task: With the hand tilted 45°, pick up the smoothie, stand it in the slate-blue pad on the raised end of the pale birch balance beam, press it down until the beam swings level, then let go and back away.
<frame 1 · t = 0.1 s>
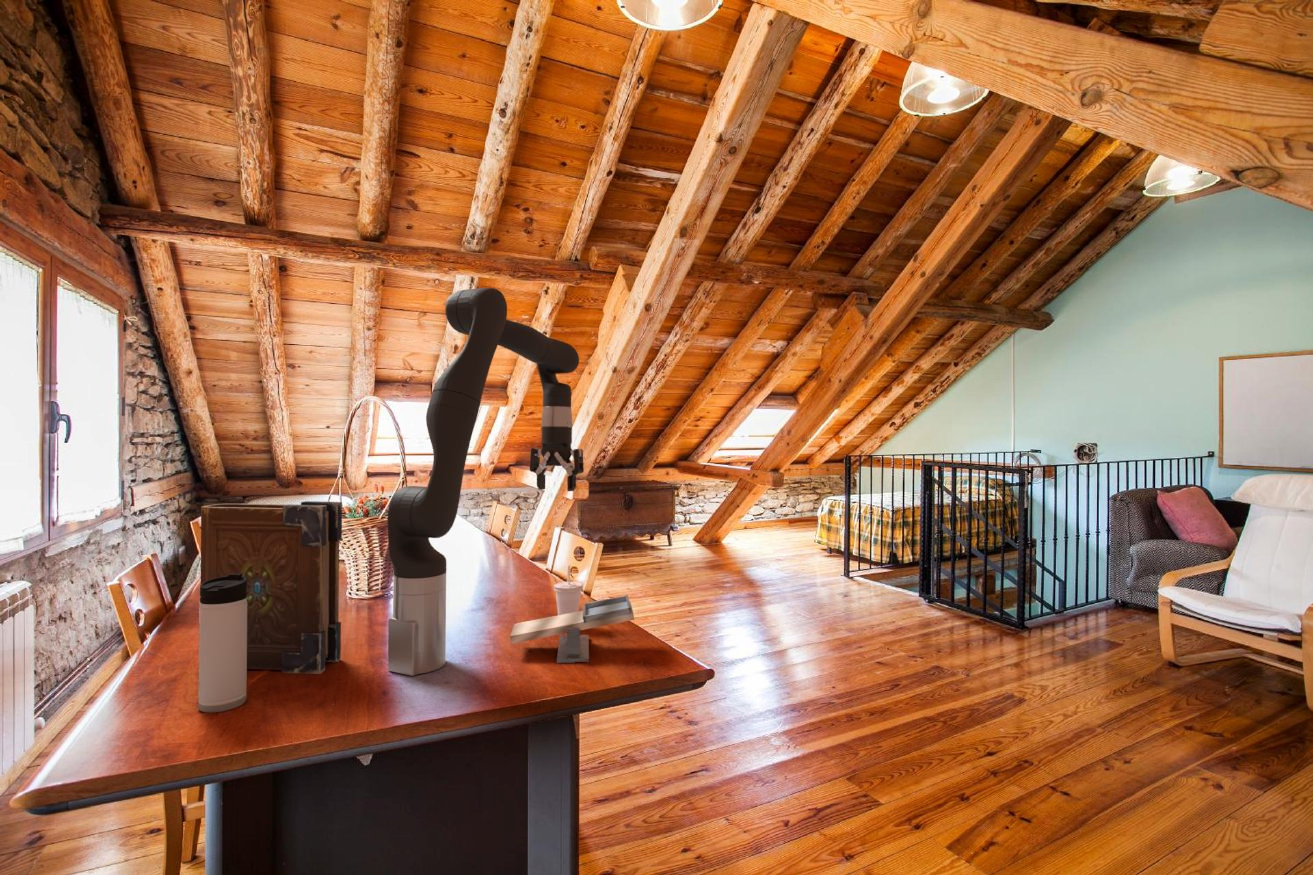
hand: (556, 490, 158), 29 cm above the table, tool pointing down, fingers open, 8 cm apart
travel mug: (223, 705, 100), on the table
decorative book: (268, 666, 117), on the table
balance beam: (572, 618, 127), point 6 cm above the table, hinge at -10.0°
smoothie: (567, 628, 142), on the table
pivot stand: (573, 650, 127), on the table
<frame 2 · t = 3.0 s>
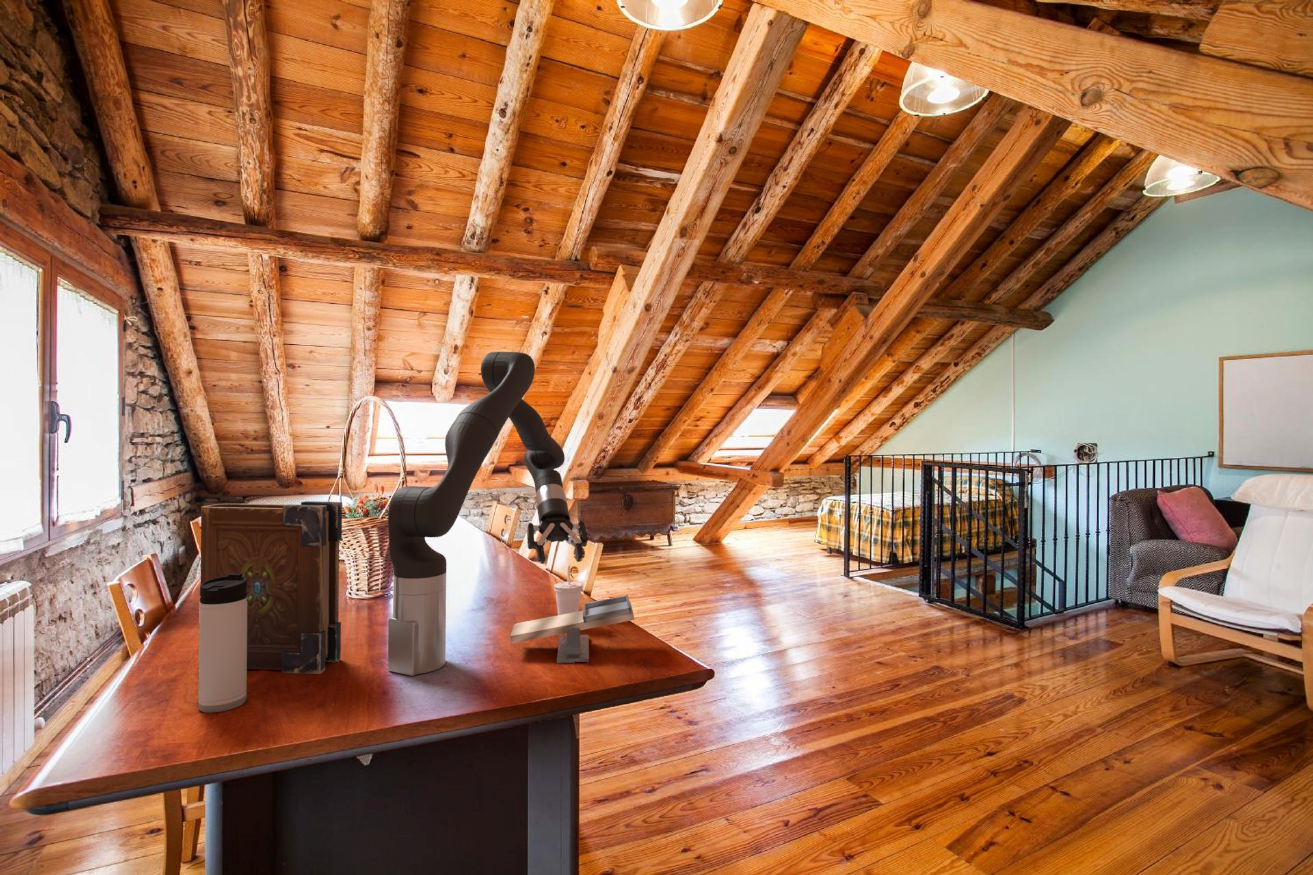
hand: (561, 560, 148), 14 cm above the table, tool tilted 45°, fingers open, 8 cm apart
nothing on the table moved.
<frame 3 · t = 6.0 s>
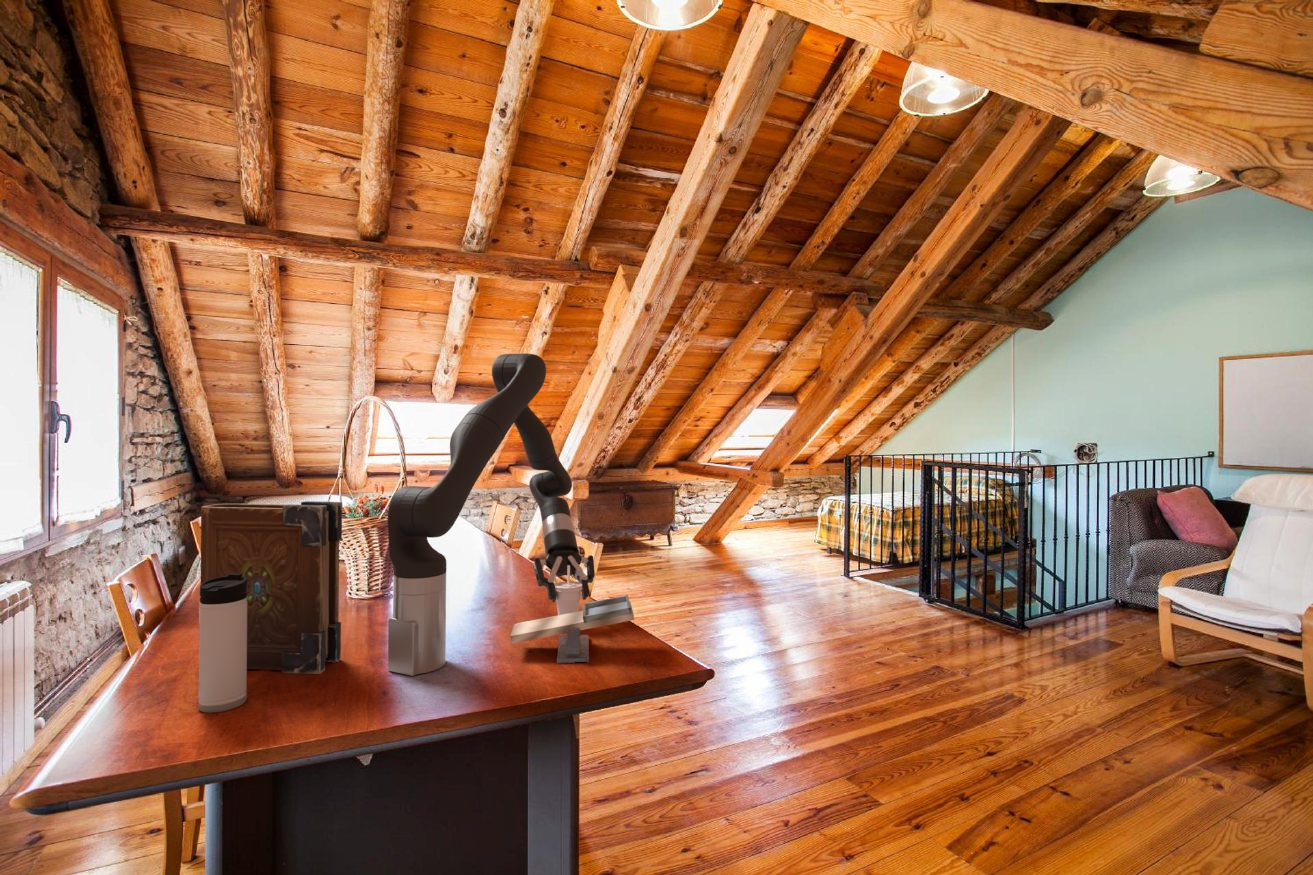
hand: (569, 598, 140), 7 cm above the table, tool tilted 45°, fingers closed on smoothie, 6 cm apart
smoothie: (567, 628, 142), on the table, touching gripper
everything else where it was.
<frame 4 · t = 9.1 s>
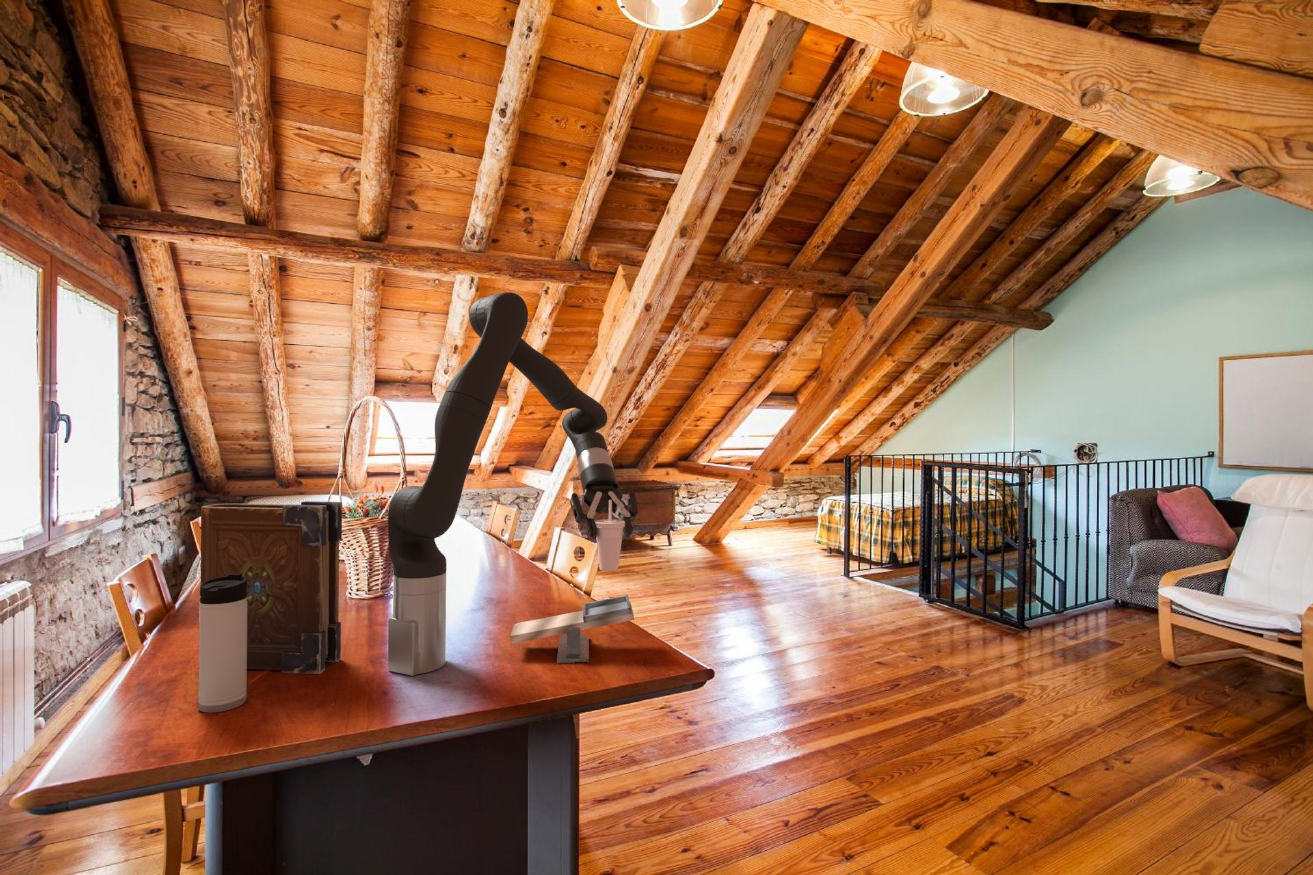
hand: (611, 536, 127), 23 cm above the table, tool tilted 45°, fingers closed on smoothie, 6 cm apart
smoothie: (608, 569, 128), point 16 cm above the table, touching gripper
everything else where it was.
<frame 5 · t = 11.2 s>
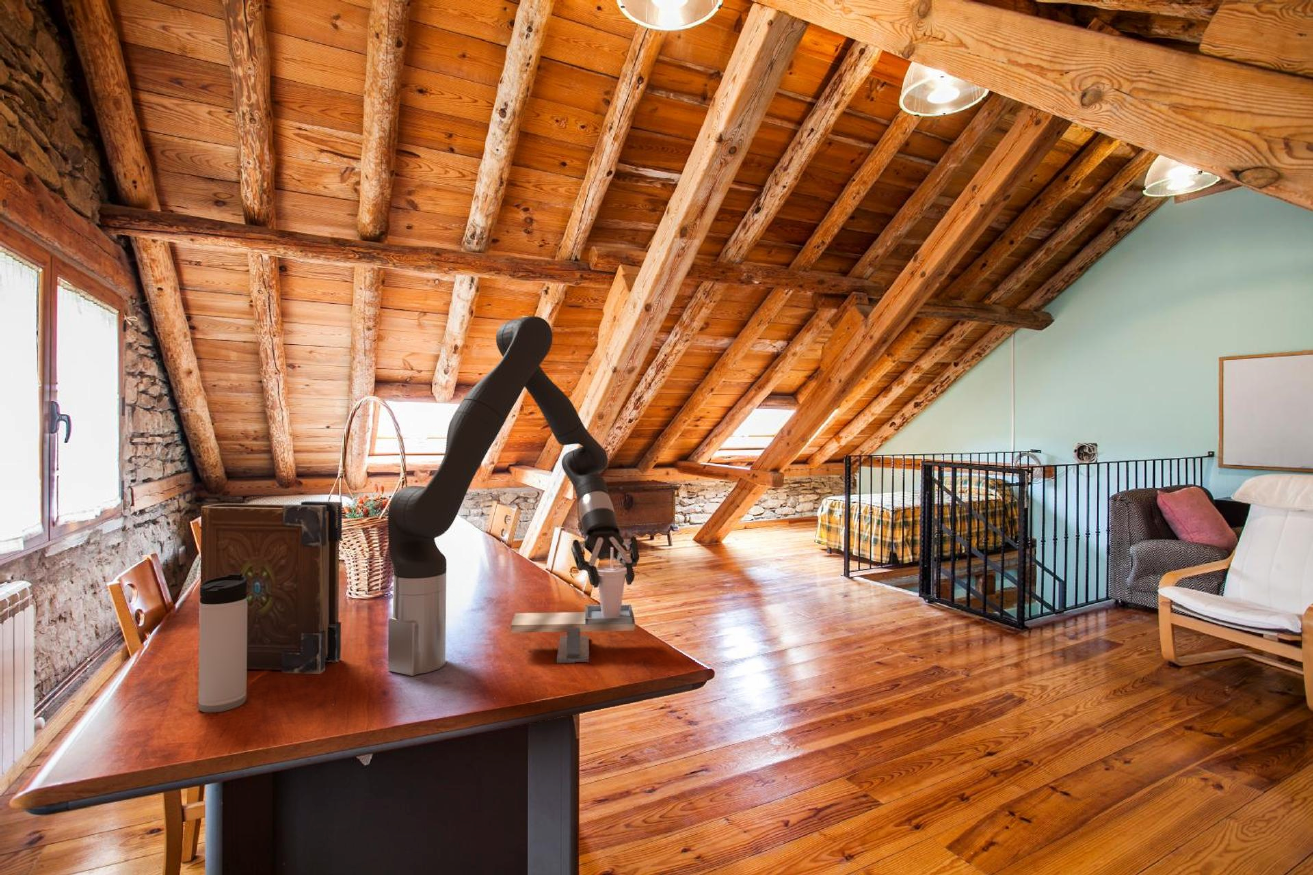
hand: (613, 583, 127), 14 cm above the table, tool tilted 45°, fingers closed on smoothie, 6 cm apart
balance beam: (573, 618, 127), point 6 cm above the table, hinge at 0.1°, touching smoothie
smoothie: (611, 616, 128), point 7 cm above the table, touching balance beam, gripper
everything else where it was.
when the fingers open (14 cm above the table, at t = 12.3 s): smoothie stays where it is, resting on balance beam.
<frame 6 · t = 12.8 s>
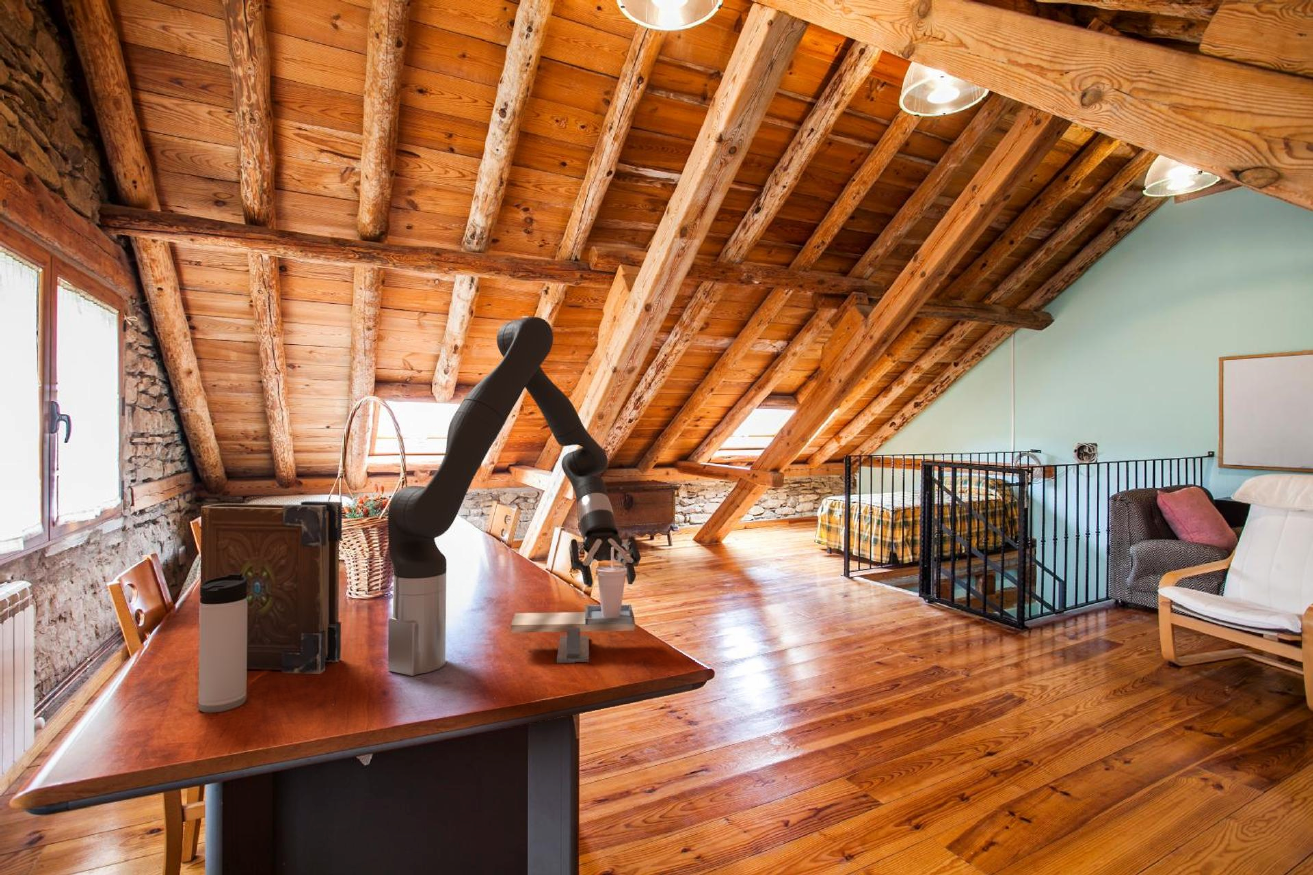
hand: (611, 583, 127), 14 cm above the table, tool tilted 45°, fingers open, 8 cm apart
smoothie: (611, 616, 128), point 6 cm above the table, touching balance beam
everything else where it was.
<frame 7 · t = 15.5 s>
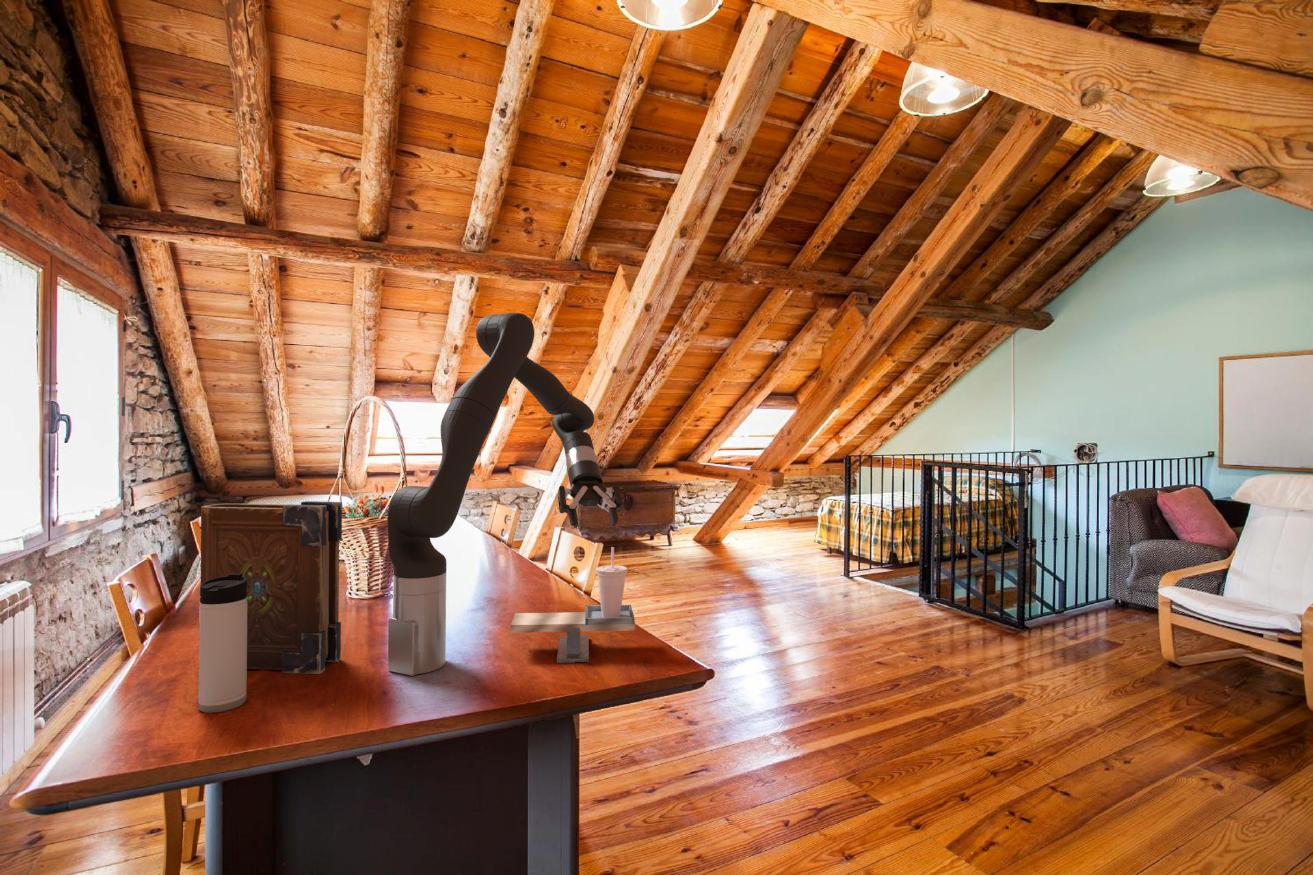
hand: (595, 525, 139), 23 cm above the table, tool tilted 45°, fingers open, 8 cm apart
nothing on the table moved.
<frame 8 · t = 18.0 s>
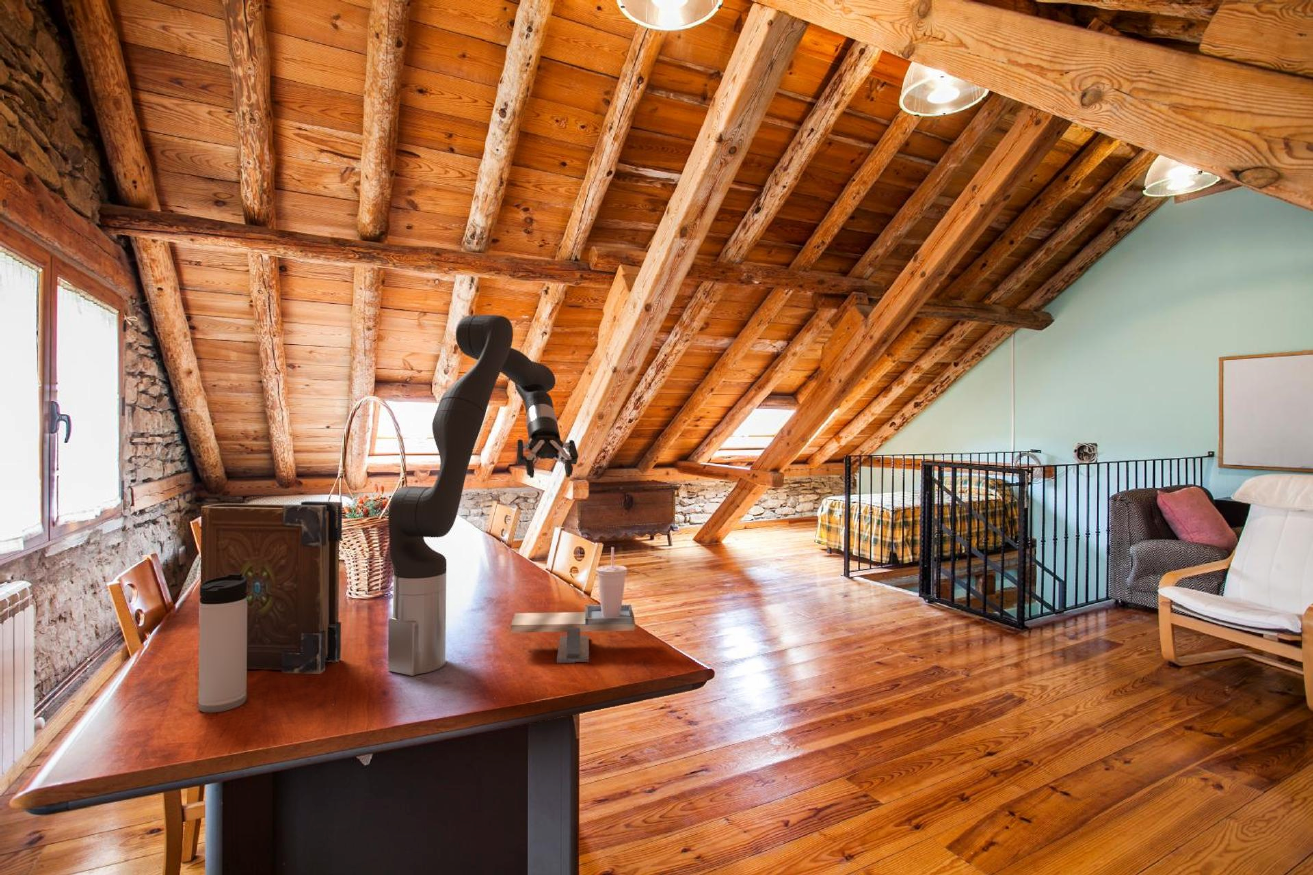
hand: (550, 475, 147), 34 cm above the table, tool tilted 45°, fingers open, 8 cm apart
nothing on the table moved.
at the end: balance beam at +0° (first picture: -10°); smoothie inside the target area on the balance beam (0.6 cm from its centre), point 1.5 cm above the balance beam's base; smoothie tilted 0° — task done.
